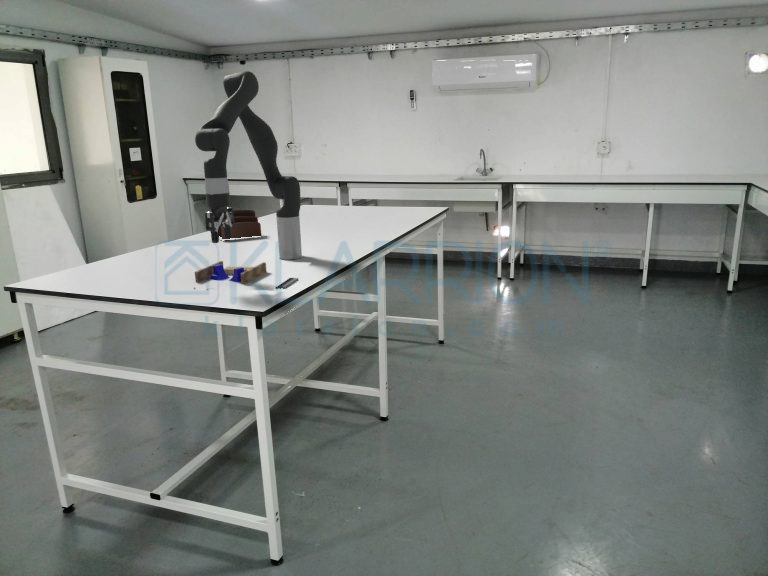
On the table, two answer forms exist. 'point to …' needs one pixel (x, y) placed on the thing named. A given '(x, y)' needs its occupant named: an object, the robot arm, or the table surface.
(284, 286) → the rubber mat
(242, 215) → the letter holder
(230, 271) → the upper offcut
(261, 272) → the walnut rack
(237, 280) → the blue curved piece
